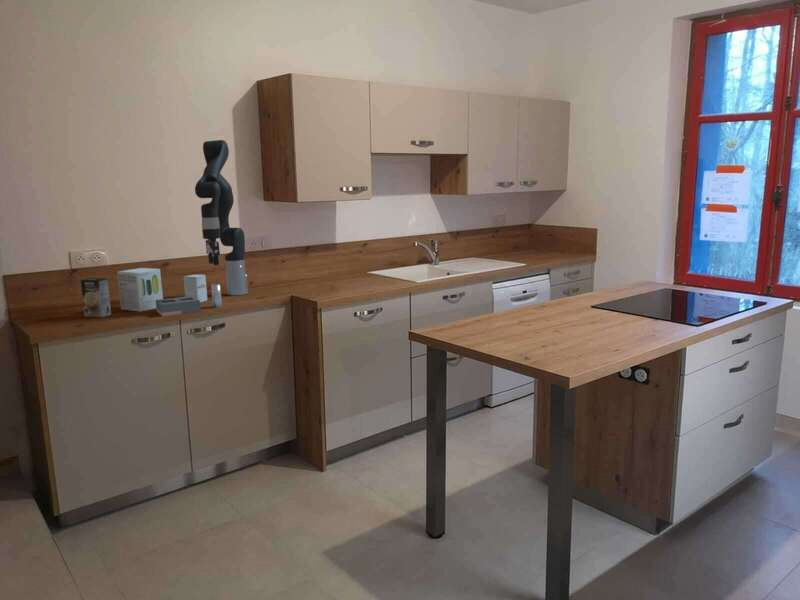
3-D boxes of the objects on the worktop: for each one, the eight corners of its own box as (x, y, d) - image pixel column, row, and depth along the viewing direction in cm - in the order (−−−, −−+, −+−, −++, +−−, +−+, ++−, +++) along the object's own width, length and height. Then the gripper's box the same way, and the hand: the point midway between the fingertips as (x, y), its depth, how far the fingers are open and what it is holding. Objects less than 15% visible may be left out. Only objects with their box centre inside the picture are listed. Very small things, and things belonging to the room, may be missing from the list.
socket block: (193, 306, 288) (192, 295, 287) (200, 311, 276) (199, 300, 275) (156, 311, 280) (155, 299, 279) (162, 316, 268) (161, 304, 267)
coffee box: (83, 316, 272) (79, 279, 269) (94, 313, 278) (89, 277, 275) (102, 317, 270) (98, 280, 267) (112, 314, 276) (108, 277, 273)
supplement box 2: (198, 303, 295) (195, 276, 293) (185, 303, 298) (182, 276, 295) (208, 300, 302) (205, 274, 300) (195, 300, 304) (192, 274, 302)
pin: (220, 305, 289) (219, 283, 287) (223, 306, 285) (221, 284, 283) (211, 306, 287) (210, 284, 285) (214, 307, 283) (212, 285, 282)
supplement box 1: (140, 311, 279) (136, 272, 276) (120, 309, 286) (116, 271, 282) (164, 306, 291) (160, 268, 287) (145, 304, 297) (141, 267, 294)
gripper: (223, 228, 275) (226, 265, 278) (215, 226, 288) (218, 262, 290) (206, 229, 272) (209, 266, 275) (198, 227, 284) (201, 263, 287)
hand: (213, 264), depth 283 cm, fingers open, 8 cm apart
